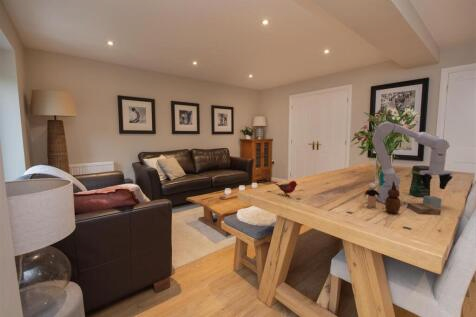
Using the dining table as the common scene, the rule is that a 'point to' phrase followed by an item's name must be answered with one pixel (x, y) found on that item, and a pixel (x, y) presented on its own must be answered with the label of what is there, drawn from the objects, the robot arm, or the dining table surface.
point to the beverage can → (381, 178)
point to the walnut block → (424, 208)
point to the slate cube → (432, 201)
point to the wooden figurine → (393, 200)
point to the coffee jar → (418, 182)
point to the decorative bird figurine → (287, 187)
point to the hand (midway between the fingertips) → (434, 188)
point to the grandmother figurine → (372, 195)
